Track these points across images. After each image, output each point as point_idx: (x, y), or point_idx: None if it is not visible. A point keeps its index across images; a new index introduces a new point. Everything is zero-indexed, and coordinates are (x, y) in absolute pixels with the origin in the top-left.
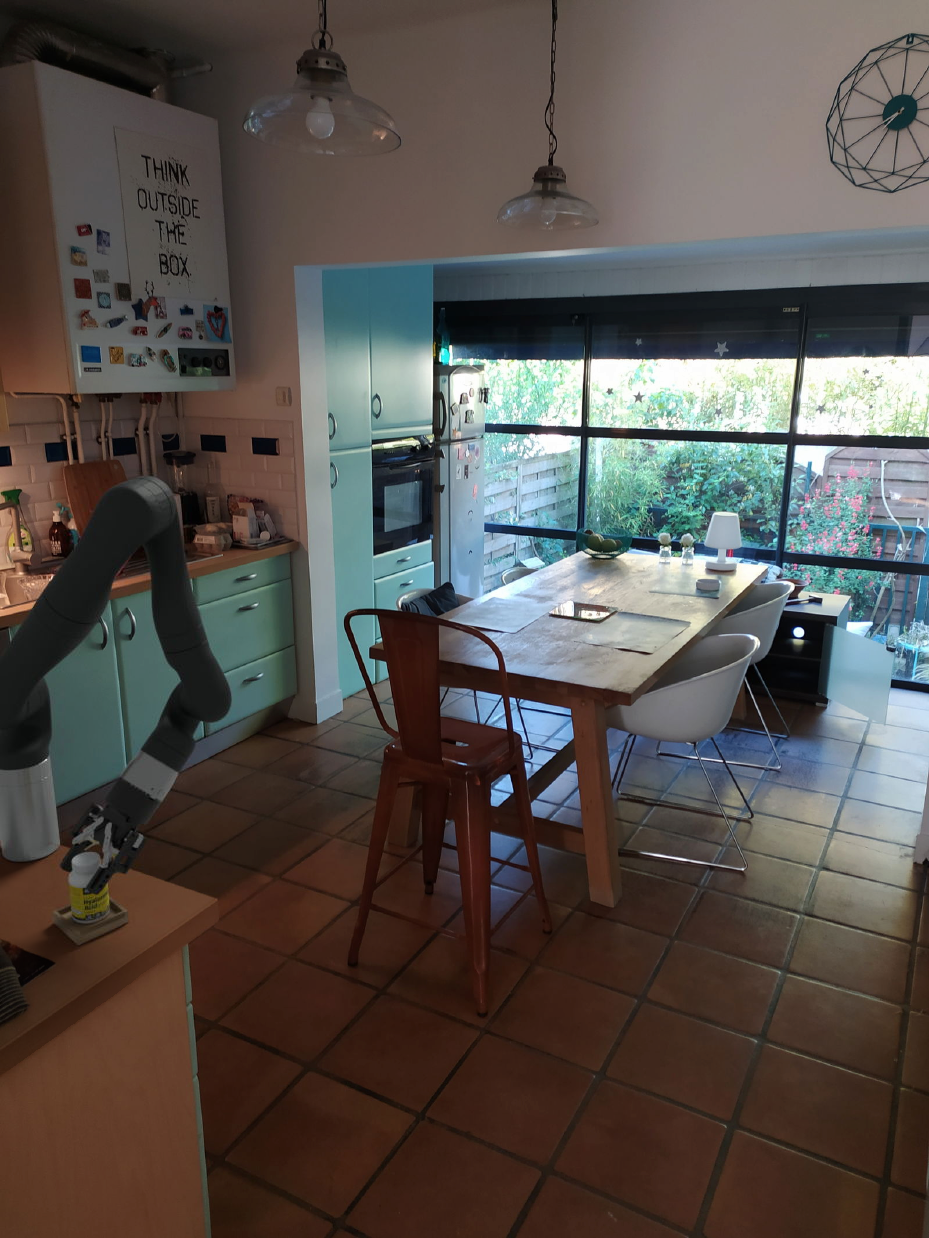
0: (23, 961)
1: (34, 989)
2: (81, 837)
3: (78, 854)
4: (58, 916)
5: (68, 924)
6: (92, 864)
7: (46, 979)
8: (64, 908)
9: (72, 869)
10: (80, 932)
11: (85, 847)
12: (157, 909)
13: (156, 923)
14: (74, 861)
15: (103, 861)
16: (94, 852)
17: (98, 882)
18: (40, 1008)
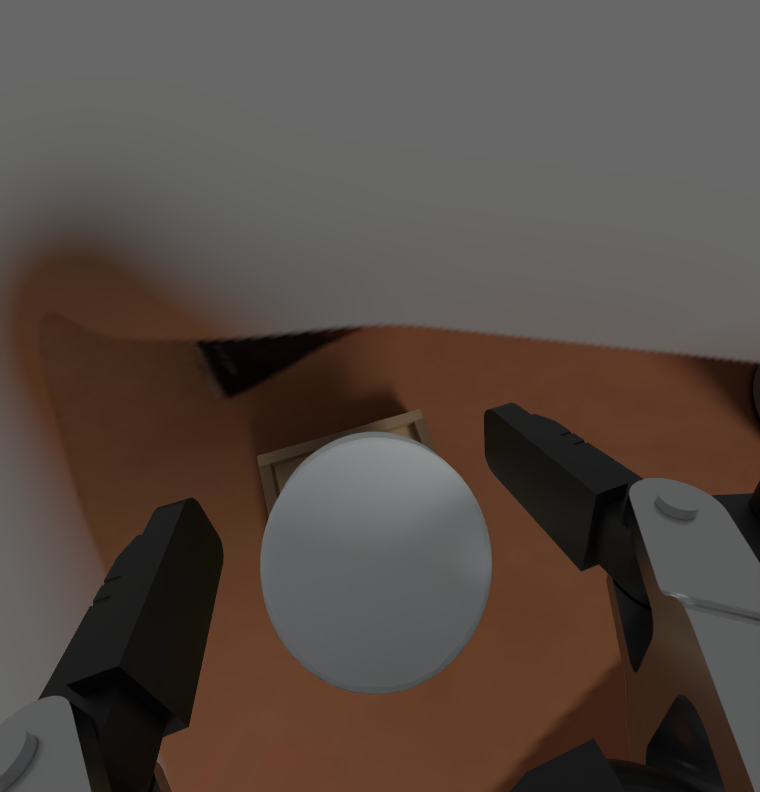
0: (282, 335)
1: (153, 342)
2: (692, 574)
3: (474, 501)
4: (384, 420)
5: (323, 440)
6: (265, 591)
7: (173, 369)
8: (422, 443)
9: (494, 470)
10: (259, 467)
11: (613, 578)
12: (327, 772)
13: (237, 744)
14: (374, 454)
15: (59, 751)
16: (457, 649)
17: (101, 588)
18: (70, 344)
